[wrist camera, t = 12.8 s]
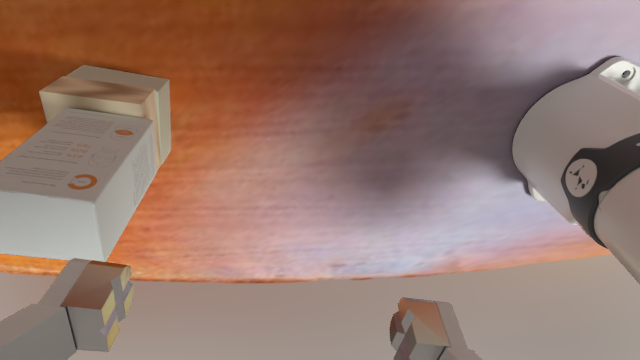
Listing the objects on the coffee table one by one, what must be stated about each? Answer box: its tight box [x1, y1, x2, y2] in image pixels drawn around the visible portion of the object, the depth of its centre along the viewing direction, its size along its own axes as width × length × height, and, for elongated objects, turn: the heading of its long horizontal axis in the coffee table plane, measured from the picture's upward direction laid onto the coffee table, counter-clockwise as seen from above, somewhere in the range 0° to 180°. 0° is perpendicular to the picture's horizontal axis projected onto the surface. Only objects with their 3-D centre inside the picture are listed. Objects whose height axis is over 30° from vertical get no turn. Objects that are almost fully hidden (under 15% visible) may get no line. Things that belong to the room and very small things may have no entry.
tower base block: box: [65, 65, 171, 165], centre depth 44 cm, size 9×9×4 cm
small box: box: [0, 108, 157, 262], centre depth 33 cm, size 8×6×13 cm
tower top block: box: [39, 76, 161, 170], centre depth 40 cm, size 9×9×4 cm
